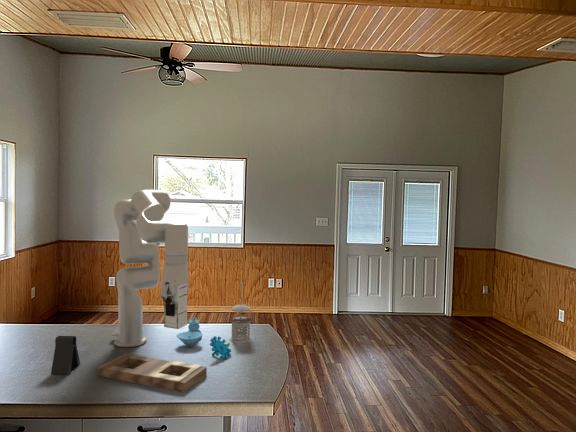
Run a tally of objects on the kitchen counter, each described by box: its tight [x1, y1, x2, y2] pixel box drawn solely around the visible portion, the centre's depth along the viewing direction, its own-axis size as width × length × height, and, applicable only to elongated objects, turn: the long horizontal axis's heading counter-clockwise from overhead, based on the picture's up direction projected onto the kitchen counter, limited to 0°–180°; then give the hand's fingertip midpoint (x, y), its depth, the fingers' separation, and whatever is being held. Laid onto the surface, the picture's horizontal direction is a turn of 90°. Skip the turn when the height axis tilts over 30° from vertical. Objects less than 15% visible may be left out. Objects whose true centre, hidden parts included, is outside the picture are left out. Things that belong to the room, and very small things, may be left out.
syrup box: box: [163, 283, 188, 330], centre depth 151 cm, size 6×6×14 cm
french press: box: [228, 282, 255, 344], centre depth 195 cm, size 10×12×25 cm
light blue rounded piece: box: [176, 316, 204, 348], centre depth 190 cm, size 18×10×9 cm, turn 1°
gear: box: [209, 335, 232, 360], centre depth 175 cm, size 11×6×10 cm
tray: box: [97, 353, 208, 393], centre depth 155 cm, size 34×14×3 cm, turn 71°
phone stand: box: [50, 335, 81, 376], centre depth 158 cm, size 9×6×12 cm, turn 179°
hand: (175, 312), depth 151 cm, fingers closed on syrup box, 5 cm apart
